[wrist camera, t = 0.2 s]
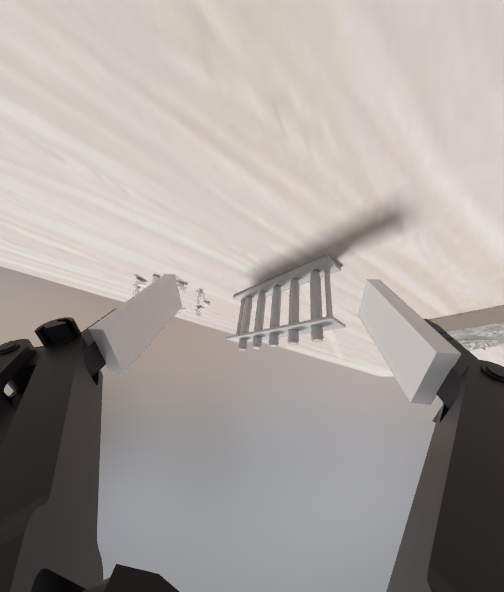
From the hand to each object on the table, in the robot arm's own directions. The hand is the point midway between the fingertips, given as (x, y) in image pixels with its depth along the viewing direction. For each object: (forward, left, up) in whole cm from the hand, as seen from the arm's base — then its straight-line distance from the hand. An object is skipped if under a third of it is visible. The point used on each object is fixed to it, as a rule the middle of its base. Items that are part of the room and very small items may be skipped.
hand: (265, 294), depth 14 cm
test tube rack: (+24, 0, -16) cm, 29 cm away
